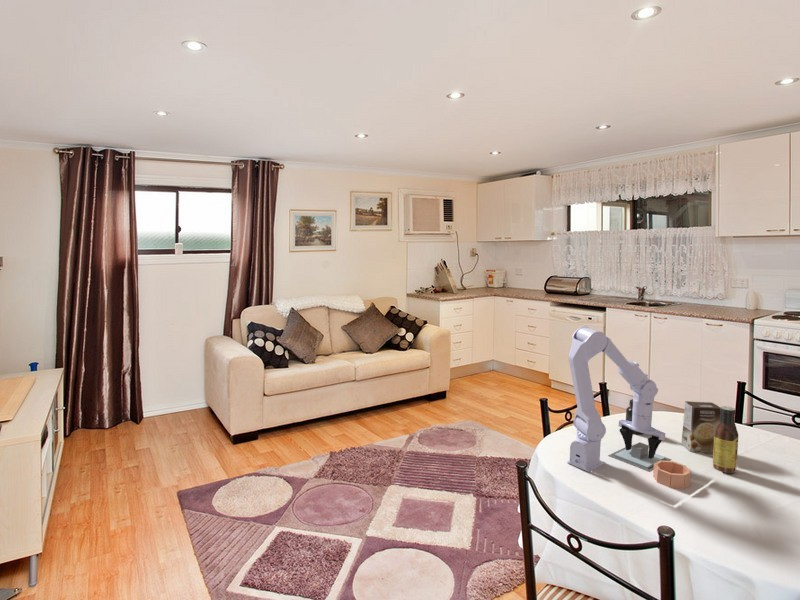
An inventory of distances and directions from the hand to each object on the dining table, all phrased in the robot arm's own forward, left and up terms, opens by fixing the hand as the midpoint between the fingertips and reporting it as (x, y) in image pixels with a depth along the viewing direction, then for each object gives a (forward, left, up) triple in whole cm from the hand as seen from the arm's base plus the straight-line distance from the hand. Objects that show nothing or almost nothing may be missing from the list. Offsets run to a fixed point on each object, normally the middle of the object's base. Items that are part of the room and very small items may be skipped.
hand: (639, 453), depth 163 cm
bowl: (-7, -13, -2) cm, 15 cm away
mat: (0, 0, -2) cm, 2 cm away
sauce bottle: (+14, -19, -2) cm, 24 cm away
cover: (0, 0, -1) cm, 1 cm away
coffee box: (+23, -8, -2) cm, 25 cm away
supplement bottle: (+20, +13, -2) cm, 24 cm away
